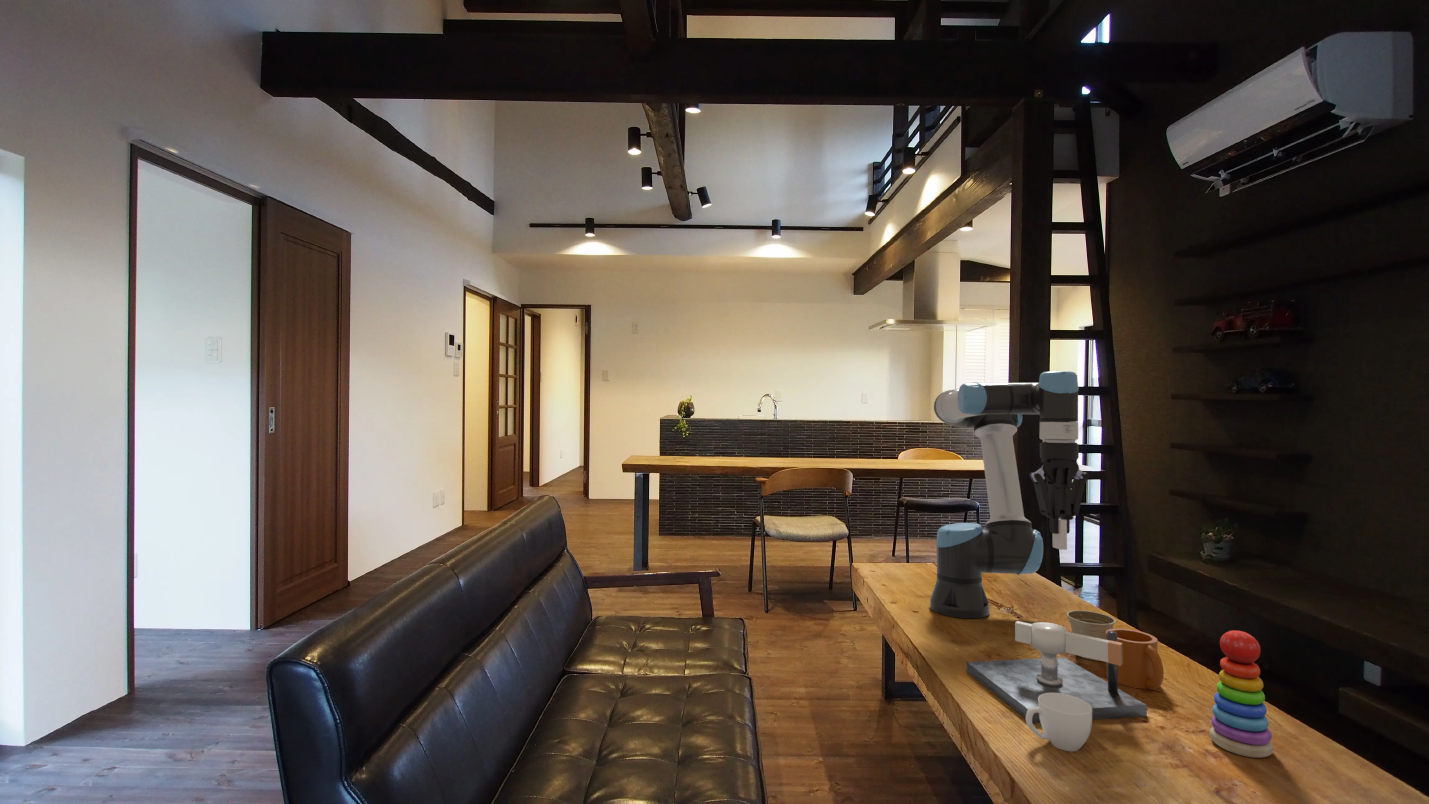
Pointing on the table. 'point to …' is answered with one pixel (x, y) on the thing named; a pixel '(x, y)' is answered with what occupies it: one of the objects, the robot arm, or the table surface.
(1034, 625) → the white lever
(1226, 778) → the table surface
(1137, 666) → the mug
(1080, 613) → the flower pot
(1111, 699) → the base plate
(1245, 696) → the stacking toy
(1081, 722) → the cup
